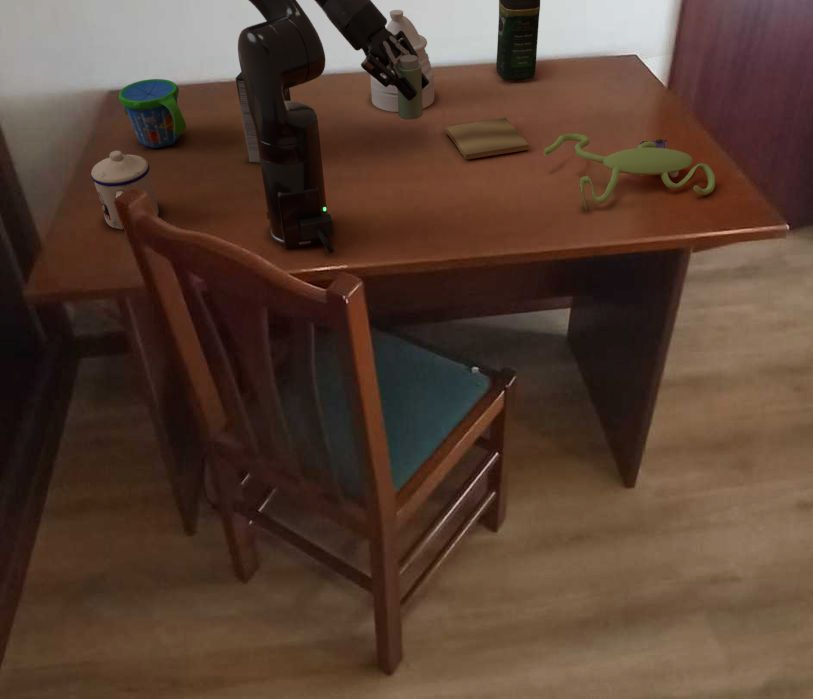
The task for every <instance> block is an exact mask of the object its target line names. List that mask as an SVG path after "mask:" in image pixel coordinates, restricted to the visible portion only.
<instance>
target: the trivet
mask: <svg viewBox="0 0 813 699" xmlns="http://www.w3.org/2000/svg"><path fill="white" fill-rule="evenodd" d="M445 132H446V134H447V135H448V136H449V138H450V139H451V141H452V142H453V143H454V145H455V146H456V148H457V149H458V151H459V152H460V154H461V155H462V156H463V158H464V159H465V160H474V159H478V158H485V157H490V156H497V155H503V154H509V153H515V152H522V151H528V150H529V149H530V144H529V143H528V142H527V140H526V139H525V138H524V137H523V136H522V135H521V134H520V132H519V131H518V130H517V129H516V127H514V126H513V124H512V123H511V122H510V121H509V120H508V118H507V117H500V118H495V119H488V120H481V121H475V122H467V123H461V124H456V125H454V124H453V125H449V126H445Z"/></svg>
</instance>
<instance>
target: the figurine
mask: <svg viewBox="0 0 813 699" xmlns="http://www.w3.org/2000/svg"><path fill="white" fill-rule="evenodd" d="M568 141H577V143H576V144H575V145H574V149H573V150H574V152H575V154H576V155H577V156H578V158H582V159H584V160H588V161H592V162H596V163H600V164H603V165H604V166H605V168H606V169H608V170H610V171H611V177H610V180H609V182H608V184H607V186H606V188H605V190H604V192H603V194H602V195H601V196H597V195H596V193H595V189H594V186H593V182H592V179H591V178H590V176H589V175H584V176H580V180H579V188H580V192H581V195H582V199H583V204H584V210H585V211H587V202H586V194H585V185H586V184H589V185H590V187H591V196H592V200H593V201H594V202H595V204H597V205H599V204H604V203H605V202H606V201H607V200H609V198H610V197H611V195H612V194H613V191H614V189H615V188H616V186H617V184H618V181H619V178H620V174H625V175H630V176H629V178H630V180H636V179H638V178H639V177H641V176H656V177H659V176H660V178H661V181H662V183H663V185H664V186H665V187H667V188H669V189H670V190H674V189H678V188H680V187H682V186H683V185H685V184H686V183H687V182H688V181H689V180H690V179H691V177H692V176H693V174H694V172H695V170H696V169H700V170H701V171H702V172H704V174H705V176H706V178H707V186H706V188H701V187H700V186H699V185H697V184H695V185H693V187H692V190H693V191H694V192H695V193H696V194H698V195H700V196H708V195H709V194H711V193H712V192H714V189H715V187H716V177H715V173H714V171H713V169H712V168H711V167H710V166H709V165H708V164H706V163H698V164H696V165H695V166H693V167H691V169H690V170H689V172H687V174H686V176H684V177H683V179H681V180H680V181H679V182H678V183H675V182H673V181H672V180H671V178H672V179H675V178H676V177H678V176H679V173H680V171H681V170H684V169H687V168H688V167H689V166H691V165H692V163H693V162H694V160H693V158H692V157H691V155H690V154H689V153H686V152H683V151H682V150H681V151H680V150H677V149H671V148H668V140H667V139H656V140H651V141H648V140H643V141H642V142H639V144H638V145H637V146H636V147H635V148H634V147H633V148H629V149H622V150H619V151H616V152H613V153H611V154H609V155H607V156H606V155H600V154H597V153H592V152H588V151H585V150H583V148H584V147H587V146H588V145H589V144H591V139H590V138H589V137H588V135H587V136H586V135H584V134H581V133H564V134H561V135H559V137H558V138H557V139H556V141H555V142H553V144H551V145H549V146H548V147H546V148H544V149H543V156H545V157H546V156H548V155H550V154H552V153H553V152H555V151H556V150H557V149H558V148H560V147H561V146H562V144H563V143H564V142H568ZM670 177H671V178H670Z"/></svg>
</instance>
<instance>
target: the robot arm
mask: <svg viewBox="0 0 813 699" xmlns="http://www.w3.org/2000/svg"><path fill="white" fill-rule="evenodd" d="M313 1H314V2H315V3H316V4H317V5H318V7H319V8H320V9H321V10H322V12H323V13H324V14H325V16H326V17H327V19H328V21H330V23H331V24H332V25H333V26H334V27H335V28H336V30H337V31H338V33H340V34H341V36H342V37H343V38H344V39H345V40H346V41H347V43H348V44H349V45H350V46H351V48H353V49H354V50H355V51H360V50H362V52H363V54H364V56H365V59H364V60H363V61H362V62H361V63H360V67H361V68H362V69H363V70H364V71H365V72H366V73H368V74H369V75H371V76H373V77H374V78H375V79H376V80H377V81H379V82H380V83H381V84H382V85H383V86H385V87H388V86H389V85H392V86H396V88H397V89H398V90H399V91H400V92H401V93H402V94H403V96H404V97H405V98H406V99H407V100H408V101H411V100H412V99H413V98H414V97H415V96H416V95H417V94H418V92H417V91H416V89H415V88H414V87H413V86H412V85H411V84H410V82H409V81H408V80H407V79H406V78H405V77H404V78H403V75H402V73H401V72H400V70H399V68H398V64H399V63H400V57H401V56H404V55H408V51H409V53H410V55H415V56H417V57H418V55H417V53H416V51H415V50H414V48H413V47H412V45H411V43H410V42H409V40H408V38H407V37H406V35H405V33H404V32H403V31H399V32H398V33H397V34H395V35H393V34H392V33H391V32H390V31H388V30H387V29H386V28H387V27H386V26H387V25H388V19H387V18H386V17H385V15H384V14H383V13H382V12H381V10H379V8H378V7H377V6H376V5H375V4H374V2H373V1H372V0H313ZM248 2H249V3H251V4H252V5H253V6H254V8H256V9H257V11H258V12H259V13H260V14H261V16H262V17H263V18H264V20H265V21H262V22H260V23H256V24H252V25H250V26H247V27H245V28H244V29H242V30H241V31H240V33H239V35H238V40H237V55H238V56H237V57H238V62H239V67H240V68H239V69H240V71H241V72H242V77H243V81H244V86H245V91H246V95H247V101H248V106H249V111H250V114H251V117H252V120H253V123H254V126H255V131H256V137H257V143H258V150H259V157H260V163H259V164H260V169H261V170H260V171H261V176H262V183H263V189H264V195H265V201H266V208H267V212H266V216H267V220H268V221H269V226H270V228H269V231H270V236H271V239H272V240H273V241H274V242H276V243H277V244H280V245H282V246H284V248H285V249H286V250H289V249H295V248H300V247H306V246H313V245H318V244H323V246H324V248H325V249H326V251H327V252H328V253H329V254H333V253H334V252H335V249H334V247H333V246H332V244H331V243H330V241H329V240H328V238H327V237H330V236H331V237H332V236H335V232H334V230H335V229H334V220H333V218H332V215H331V213H328V206H327V197H326V187H325V178H324V168H323V158H322V149H321V139H320V138H321V137H320V130H319V129H320V128H319V118H318V115H317V112H316V110H315V109H314V108H313V107H312V106H311V105H308V104H306V103H303V102H299V101H296V100H295V101H294V100H293V101H292V100H291V101H284V98H283V92H282V90H285V89H288V88H289V89H292V88H294V87H297V86H299V85H303V84H306V83H309V82H311V81H314V80H315V79H318V78H319V77H320V76H321V75H323V73H324V71H325V69H326V52H325V49H324V46H323V43H322V40H321V38H320V36H319V33H318V31H317V29H316V27H315V26H314V24H313V23H312V21H311V19H310V18H309V17H308V15H307V14H306V12H305V11H304V9H303V8H302V6H301V5H300V4H299V2H298V1H297V0H248ZM418 58H419V57H418ZM392 70H393V72H394V73H393V72H391V71H392ZM241 72H240V73H241ZM380 74H382V75H385V76H386V78H384V77H382V76H381V75H380ZM428 84H429V80H428V79H427V78H426V76H425V75H424V74H423V73H422V89H423V88H425V87H426V86H427V85H428Z"/></svg>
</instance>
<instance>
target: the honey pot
mask: <svg viewBox="0 0 813 699" xmlns="http://www.w3.org/2000/svg"><path fill="white" fill-rule="evenodd" d="M389 17H390V19H391V20H390V21H389V23H387V25H386V27H385V28H386V29H387V30H388V31H390V32H391V33H392V34H393V35H395V34H397V33H398V32H399V31H403V32H404V33H405V35H406V37H407V38H408V40H409V42H410V43H411V45H412V47H413V48H414V50H415V51H416V53H417V55H418V57H419V58H418V63H420V64H421V66H422V73H423V74H424V75H425V76H426V78H427V79H428V80H429V84H428V85H427V86H426V87H425V88H423V89H422V108H423V109H426V108H427V107H429V106H431V105H432V104H433V103H434V101H435V72H434V69H433V67H432V64H431V60H429V59H430V57H429V54H428V52H427V51H426V49H425V48H426V47H427V46H428V39H427V38H426V37H425V36H424V35H421V34H419V32H418V29H417V28H416V26H415V25H414V24H413V22H412V21H411V20H410V19H409V18H408V17H407V16H405V15H404V11H403V10H401V9H392V10H390V11H389ZM408 55H410V53H409V51H408ZM391 72H393V70H392V71H391ZM393 73H394V72H393ZM369 75H370V74H369ZM380 75H381V76H382V77H384V78H386V76H385V75H382V74H380ZM369 77H370V94H371V95H370V96H371V104H373V106H375V107H376V108H378V109H379V110H383V111H385V112H386V111H387V112H391V113H398V93H397V88H396V86H392V85H389V86H388V87H385V86H383V85H382V84H381V83H380V82H379V81H377V80H376V79H375V78H374V77H373V76H371V75H370V76H369Z"/></svg>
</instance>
